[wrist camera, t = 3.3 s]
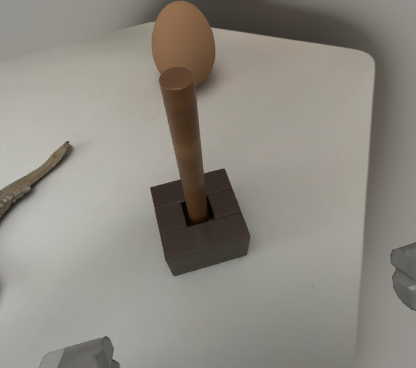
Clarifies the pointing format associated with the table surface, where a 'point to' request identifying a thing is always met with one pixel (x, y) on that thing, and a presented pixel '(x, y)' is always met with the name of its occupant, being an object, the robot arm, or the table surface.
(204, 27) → the egg
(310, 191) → the table surface
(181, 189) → the stand
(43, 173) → the jawbone
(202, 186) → the stick
